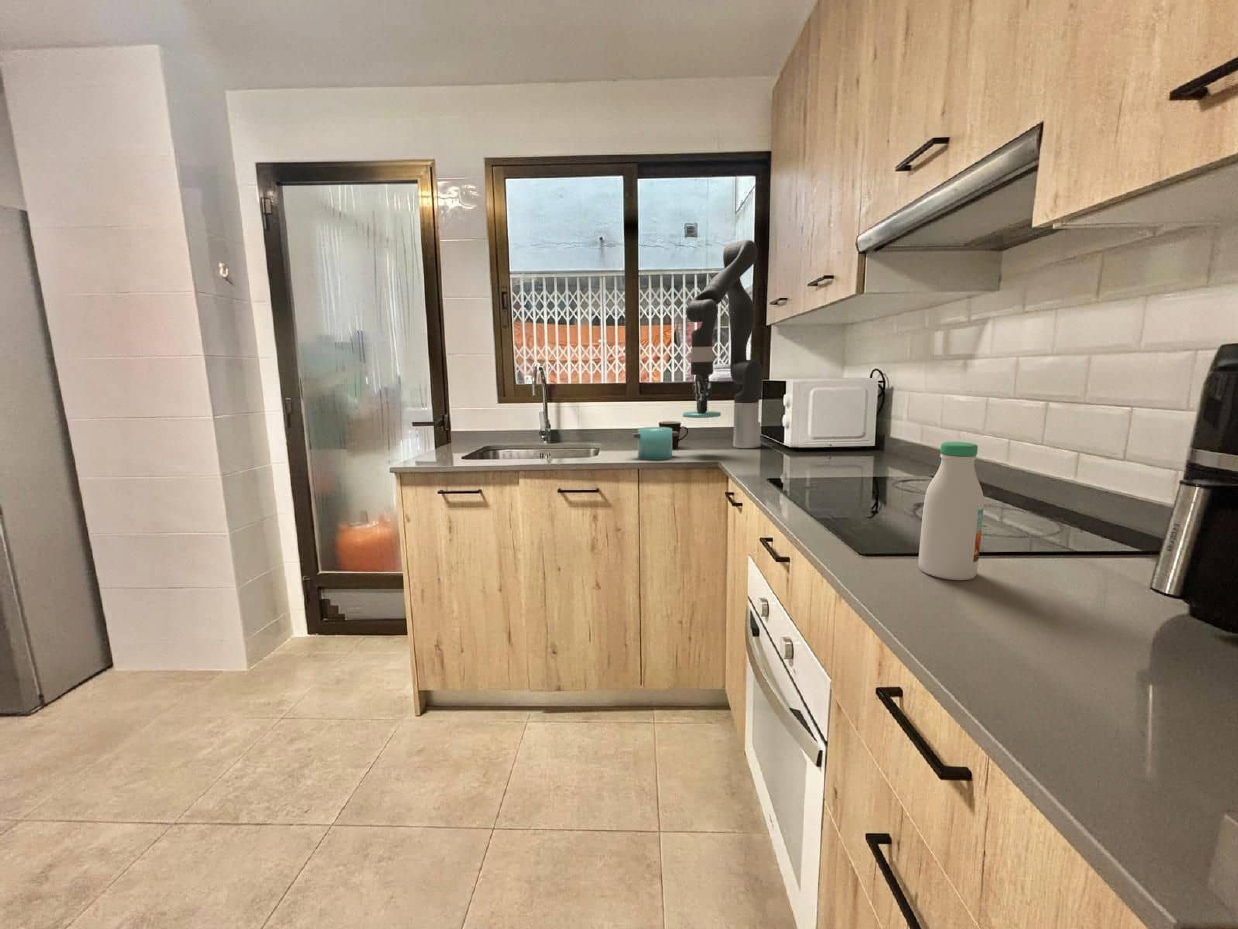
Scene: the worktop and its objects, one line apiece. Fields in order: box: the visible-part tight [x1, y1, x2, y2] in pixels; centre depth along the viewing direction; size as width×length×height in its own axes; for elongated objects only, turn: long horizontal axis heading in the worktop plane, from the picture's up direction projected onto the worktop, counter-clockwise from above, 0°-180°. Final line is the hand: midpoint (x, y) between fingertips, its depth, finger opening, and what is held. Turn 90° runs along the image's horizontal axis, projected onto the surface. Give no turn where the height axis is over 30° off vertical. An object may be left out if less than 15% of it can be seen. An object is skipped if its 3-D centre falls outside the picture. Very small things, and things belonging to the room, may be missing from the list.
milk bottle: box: [918, 441, 985, 581], centre depth 81 cm, size 8×8×20 cm
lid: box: [682, 398, 722, 419], centre depth 186 cm, size 13×13×6 cm
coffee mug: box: [658, 420, 689, 450], centre depth 207 cm, size 12×9×10 cm
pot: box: [630, 426, 680, 461], centre depth 188 cm, size 16×12×10 cm
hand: (701, 410), depth 187 cm, fingers closed on lid, 3 cm apart
